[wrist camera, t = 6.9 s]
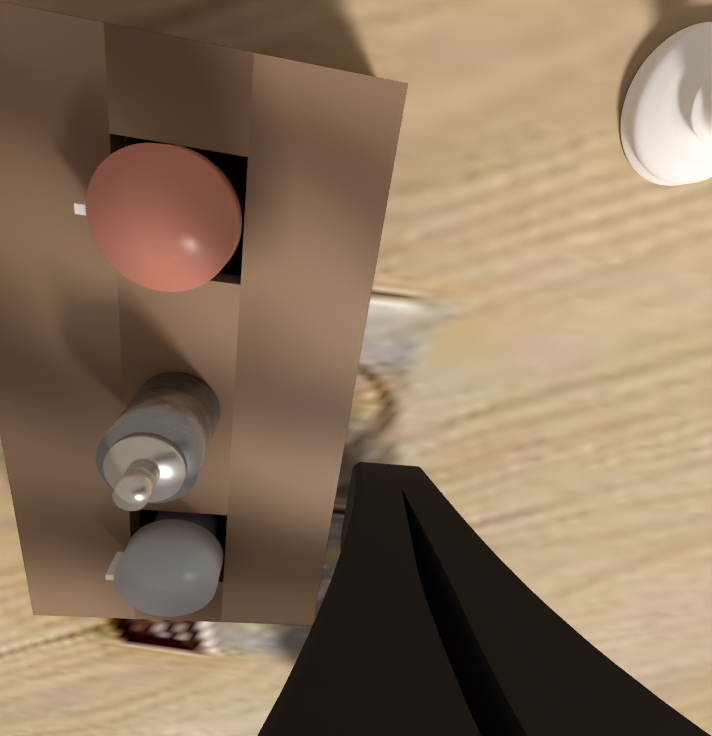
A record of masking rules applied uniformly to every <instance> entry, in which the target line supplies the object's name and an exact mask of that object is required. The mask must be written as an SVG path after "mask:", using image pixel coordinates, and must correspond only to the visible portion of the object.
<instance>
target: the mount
mask: <svg viewBox="0 0 712 736" xmlns="http://www.w3.org/2000/svg"><path fill="white" fill-rule="evenodd" d="M407 86H408V83H403V82H398V81H393V80H388V79H383V78H378V77H373V76H368V75H363V74H358V73H353V72H348V71H343V70H338V69H334V68H329V67H324V66H319V65H314V64H309V63H304V62H299V61H294V60H289V59H284V58H279V57H274V56H269V55H264V54H259V53H254V52H249V51H244V50H239V49H234V48H229V47H224V46H219V45H214V44H209V43H204V42H199V41H194V40H189V39H184V38H179V37H174V36H169V35H164V34H159V33H154V32H149V31H144V30H139V29H134V28H129V27H124V26H119V25H114V24H109V23H104V22H99V21H94V20H89V19H84V18H79V17H74V16H69V15H64V14H59V13H54V12H49V11H44V10H39V9H34V8H29V7H24V6H19V5H14V4H9V3H4V2H0V433H1V439H2V444H3V450H4V455H5V461H6V466H7V472H8V478H9V483H10V489H11V494H12V500H13V505H14V511H15V516H16V522H17V527H18V533H19V538H20V544H21V550H22V555H23V561H24V566H25V572H26V577H27V583H28V588H29V594H30V599H31V605H32V610H33V615H48V616H75V617H102V618H128V619H155V620H182V621H209V622H235V623H262V624H289V625H313V621H314V615H315V610H316V604H317V598H318V593H319V587H320V581H321V576H322V570H323V564H324V559H325V553H326V547H327V541H328V536H329V530H330V524H331V519H332V513H333V507H334V502H335V496H336V490H337V485H338V479H339V473H340V467H341V462H342V456H343V450H344V445H345V439H346V433H347V428H348V422H349V416H350V411H351V405H352V399H353V394H354V388H355V382H356V376H357V371H358V365H359V359H360V354H361V348H362V342H363V337H364V331H365V325H366V320H367V314H368V308H369V303H370V297H371V291H372V285H373V280H374V274H375V268H376V263H377V257H378V251H379V246H380V240H381V234H382V229H383V223H384V217H385V212H386V206H387V200H388V194H389V189H390V183H391V177H392V172H393V166H394V160H395V155H396V149H397V143H398V138H399V132H400V126H401V121H402V115H403V109H404V103H405V98H406V92H407ZM125 136H128V137H133V138H139V139H145V140H151V141H157V142H163V143H169V144H175V145H180V146H186V147H192V148H198V149H204V150H210V151H216V152H222V153H227V154H233V155H239V156H245V157H248V165H247V182H246V200H245V217H244V234H243V252H242V269H241V276H237V275H230V274H223V273H218V274H217V275H216V276H215V277H213V278H212V279H211V280H210V281H208V282H207V283H205V284H203V285H201V286H199V287H197V288H194V289H191V290H187V291H181V292H163V291H157V290H153V289H149V288H146V287H143V286H141V285H139V284H137V283H135V282H133V281H131V280H129V279H128V278H126V277H125V276H123V275H122V274H121V273H119V272H118V271H117V270H116V269H115V268H114V267H113V266H112V265H111V264H110V263H109V262H108V261H107V260H106V259H105V257H104V256H103V255H102V253H101V252H100V250H99V249H98V247H97V245H96V243H95V241H94V239H93V237H92V235H91V232H90V229H89V225H88V222H87V216H85V215H79V214H75V212H74V203H78V202H83V201H86V196H87V190H88V187H89V183H90V181H91V178H92V176H93V174H94V172H95V171H96V169H97V168H98V166H99V165H100V164H101V163H102V162H103V161H104V160H105V159H106V158H107V157H108V156H110V155H111V154H112V153H114V152H116V151H117V150H119V149H121V148H124V147H125ZM172 371H176V372H184V373H188V374H191V375H194V376H196V377H198V378H200V379H202V380H203V381H204V382H206V383H207V384H208V385H209V386H210V387H211V388H212V389H213V391H214V392H215V393H216V395H217V397H218V400H219V403H220V409H221V413H220V418H219V422H218V424H217V427H216V430H215V432H214V435H213V438H212V440H211V443H210V446H209V448H208V451H207V454H206V457H205V459H204V462H203V465H202V467H201V470H200V473H199V475H198V478H197V480H196V482H195V484H194V486H193V487H192V488H191V489H190V490H189V491H188V492H187V493H186V494H185V495H183V496H181V497H180V498H178V499H175V500H173V501H169V502H165V503H156V504H155V503H147V504H146V505H145V507H143V508H142V510H157V511H172V512H187V513H201V514H216V515H227V528H226V531H217V533H216V539H217V540H218V541H219V543H220V545H221V547H222V550H223V563H222V568H221V572H220V576H219V580H218V585H217V589H216V592H215V595H214V596H213V598H212V600H211V601H210V602H209V603H208V604H207V605H206V606H204V607H203V608H202V609H200V610H198V611H196V612H193V613H191V614H187V615H183V616H176V617H163V616H156V615H151V614H147V613H145V612H142V611H140V610H137V609H135V608H134V607H132V606H130V605H129V604H128V603H127V602H125V601H124V600H123V599H122V597H121V596H120V595H119V594H118V592H117V590H116V587H115V584H114V580H106V576H105V575H106V573H107V571H108V569H109V567H110V565H111V563H112V561H113V559H114V557H115V555H116V553H117V552H124V551H125V549H126V547H127V545H128V543H129V541H130V539H131V537H132V536H133V534H134V533H135V532H136V531H137V530H139V529H140V528H142V527H143V526H140V510H137V511H127V510H124V509H121V508H120V507H118V506H117V505H116V504H115V503H114V501H113V499H112V493H113V491H114V490H113V489H112V488H111V487H109V486H108V485H107V483H106V482H105V481H104V480H103V478H102V477H101V475H100V473H99V471H98V468H97V465H96V450H97V447H98V445H99V443H100V441H101V439H102V438H103V437H104V436H105V434H106V433H107V432H108V430H109V429H110V428H111V426H112V425H113V424H114V422H115V421H116V420H117V418H118V417H119V416H120V415H121V413H122V412H123V411H124V409H125V408H126V407H127V405H128V404H129V403H130V401H131V400H132V399H133V397H134V396H135V395H136V394H137V392H138V391H139V390H140V388H141V387H142V386H143V384H144V383H145V382H146V381H147V380H149V379H150V378H152V377H153V376H155V375H157V374H160V373H164V372H172Z"/></svg>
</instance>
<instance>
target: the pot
mask: <svg viewBox="0 0 712 736" xmlns="http://www.w3.org/2000/svg"><path fill="white" fill-rule="evenodd" d="M220 413H221V409H220V403H219V400H218V397H217V395H216V393H215V392H214V391H213V389H212V388H211V387H210V386H209V385H208V384H207V383H206V382H204V381H203V380H202V379H200V378H198V377H196V376H194V375H191V374H188V373H184V372H176V371H172V372H164V373H160V374H157V375H155V376H153V377H152V378H150V379H149V380H147V381H146V382H145V383H144V384H143V386H142V387H141V388H140V390H139V391H138V392H137V394H136V395H135V396H134V397H133V399H132V400H131V401H130V403H129V404H128V405H127V407H126V408H125V409H124V411H123V412H122V413H121V415H120V416H119V417H118V418H117V420H116V421H115V422H114V424H113V425H112V426H111V428H110V429H109V430H108V432H107V433H106V434H105V436H104V437H103V438H102V439H101V441H100V443H99V445H98V447H97V450H96V465H97V468H98V471H99V473H100V475H101V477H102V478H103V480H104V481H105V482H106V483H107V485H108V486H109V487H111V488H112V489H113V490H114V491H113V493H112V499H113V501H114V503H115V504H116V505H117V506H118V507H120V508H121V509H124V510H127V511H137V510H140V509H142V508H143V507H145V505H146V504H147V503H155V504H156V503H165V502H169V501H173V500H175V499H178V498H180V497H181V496H183V495H185V494H186V493H187V492H188V491H189V490H190V489H191V488H192V487H193V486H194V484H195V482H196V480H197V478H198V475H199V473H200V470H201V467H202V465H203V462H204V459H205V457H206V454H207V451H208V448H209V446H210V443H211V440H212V438H213V435H214V432H215V430H216V427H217V424H218V422H219V418H220Z"/></svg>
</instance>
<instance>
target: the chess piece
mask: <svg viewBox="0 0 712 736" xmlns="http://www.w3.org/2000/svg"><path fill="white" fill-rule="evenodd" d="M620 131H621V141H622V146H623V149H624V153H625V155H626V157H627V159H628V161H629V163H630V165H631V166H632V167H633V169H634V170H635V171H636V172H637V173H638V174H639V175H640V176H642V177H643V178H645V179H647V180H648V181H651V182H653V183H656V184H660V185H681V184H689V183H695V182H699V181H703V180H705V179H708V178H710V177H712V22H703V23H698V24H695V25H692V26H689V27H687V28H684V29H682V30H680V31H678V32H677V33H675V34H673V35H672V36H670V37H669V38H667V39H666V40H665V41H664V42H662V43H661V44H660V45H659V46H658V47H657V48H656V49H655V50H654V51H653V52H652V53H651V54H650V55H649V56H648V58H647V59H646V60H645V61H644V63H643V64H642V65H641V67H640V68H639V70H638V72H637V73H636V75H635V77H634V79H633V81H632V83H631V85H630V87H629V89H628V92H627V95H626V98H625V101H624V105H623V109H622V115H621V128H620Z"/></svg>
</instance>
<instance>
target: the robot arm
mask: <svg viewBox="0 0 712 736" xmlns="http://www.w3.org/2000/svg"><path fill="white" fill-rule="evenodd" d="M258 736H711V735H709V734H708V733H706V732H705V731H703V730H702V729H701V728H699V727H698V726H696V725H695V724H694V723H692V722H691V721H690V720H688V719H687V718H686V717H684V716H683V715H681V714H680V713H679V712H677V711H676V710H675V709H673V708H672V707H670V706H669V705H668V704H666V703H665V702H664V701H662V700H661V699H660V698H658V697H657V696H656V695H655V694H653V693H652V692H651V691H649V690H648V689H647V688H646V687H644V686H643V685H642V684H640V683H639V682H638V681H637V680H635V679H634V678H633V677H632V676H630V675H629V674H628V673H626V672H625V671H624V670H623V669H621V668H620V667H619V666H617V665H616V664H615V663H614V662H612V661H611V660H610V659H609V658H607V657H606V656H605V655H604V654H603V653H601V652H600V651H599V650H598V649H597V648H595V647H594V646H593V645H592V644H590V643H589V642H588V641H587V640H586V639H585V638H583V637H582V636H581V635H580V634H579V633H578V632H577V631H576V630H574V629H573V628H572V627H571V626H570V625H569V624H568V623H566V622H565V621H564V620H563V619H562V618H561V617H560V616H559V615H557V614H556V613H555V612H554V611H553V610H552V609H551V608H549V607H548V606H547V605H546V604H545V603H544V602H543V601H542V600H541V599H540V598H539V597H538V596H537V595H536V594H534V593H533V592H532V591H531V590H530V589H529V588H528V587H527V586H526V585H525V584H524V583H523V582H522V581H521V580H520V579H519V578H518V577H517V576H516V575H515V574H514V573H513V572H512V571H511V570H510V569H509V568H508V567H507V566H506V565H505V564H504V563H503V562H502V561H501V560H500V559H499V557H498V556H497V555H496V554H495V553H494V552H493V551H492V550H491V549H490V548H489V547H488V546H487V545H486V544H485V542H484V541H483V540H482V539H481V538H480V537H479V536H478V535H477V534H476V533H475V531H474V530H473V529H472V528H471V527H470V526H469V525H468V524H467V522H466V521H465V520H464V519H463V518H462V517H461V515H460V514H459V513H458V512H457V511H456V510H455V508H454V507H453V506H452V505H451V504H450V503H449V501H448V500H447V499H446V498H445V497H444V495H443V494H442V493H441V492H440V491H439V489H438V488H437V487H436V486H435V485H434V483H433V482H432V481H431V480H430V479H429V477H428V476H427V475H426V474H425V473H424V471H423V470H422V469H421V468H420V467H416V466H404V465H391V464H378V463H365V462H359V463H358V464H356V465H355V466H353V470H352V476H351V481H350V487H349V493H348V499H347V504H346V510H345V516H344V522H343V528H342V533H341V553H340V556H339V559H338V562H337V565H336V568H335V571H334V574H333V577H332V579H331V582H330V585H329V587H328V590H327V593H326V595H325V598H324V600H323V603H322V605H321V607H320V610H319V612H318V614H317V617H316V619H315V622H314V624H313V626H312V628H311V631H310V633H309V635H308V637H307V639H306V641H305V644H304V646H303V648H302V650H301V652H300V654H299V656H298V659H297V661H296V663H295V665H294V667H293V669H292V671H291V673H290V675H289V677H288V679H287V681H286V683H285V685H284V687H283V689H282V691H281V693H280V695H279V697H278V699H277V701H276V703H275V704H274V706H273V708H272V710H271V712H270V714H269V715H268V717H267V719H266V721H265V723H264V725H263V727H262V728H261V730H260V732H259V734H258Z"/></svg>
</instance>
